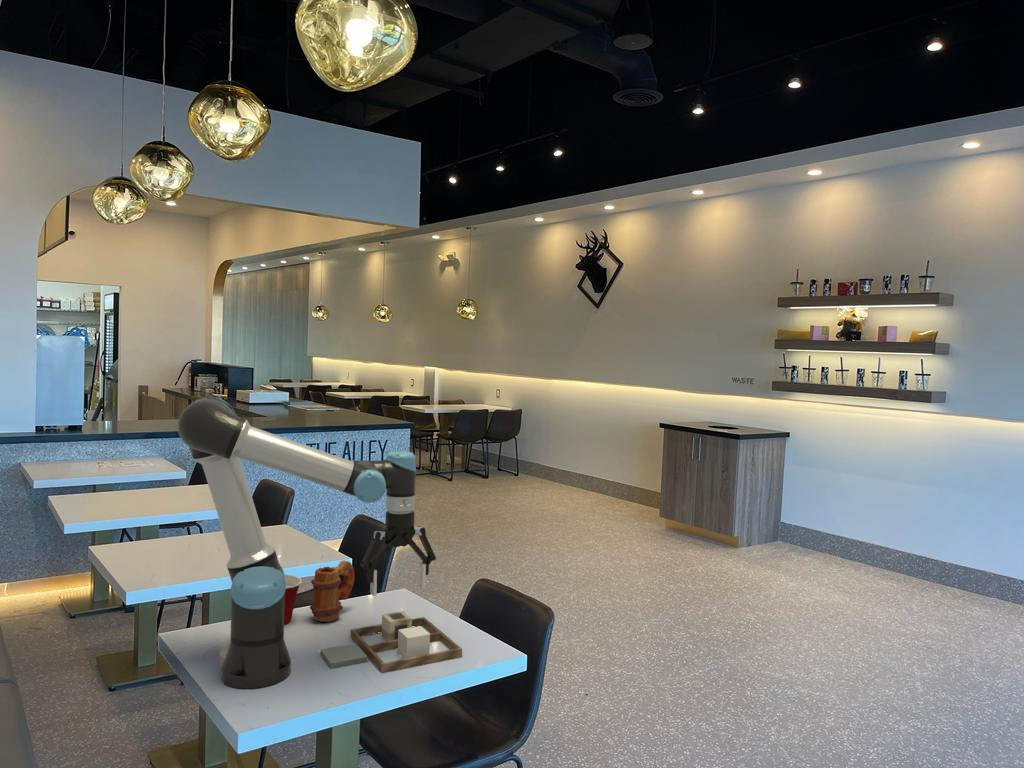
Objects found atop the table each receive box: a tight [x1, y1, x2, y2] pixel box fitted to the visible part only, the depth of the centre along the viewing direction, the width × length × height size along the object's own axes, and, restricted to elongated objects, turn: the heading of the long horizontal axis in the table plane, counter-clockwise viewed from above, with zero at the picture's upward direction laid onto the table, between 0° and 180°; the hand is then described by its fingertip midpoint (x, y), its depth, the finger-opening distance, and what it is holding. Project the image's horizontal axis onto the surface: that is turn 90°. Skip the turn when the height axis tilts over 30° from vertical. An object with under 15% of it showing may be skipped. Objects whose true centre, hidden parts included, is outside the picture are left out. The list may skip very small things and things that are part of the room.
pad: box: [319, 642, 368, 669], centre depth 175 cm, size 9×9×1 cm
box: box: [349, 616, 463, 674], centre depth 183 cm, size 21×24×2 cm
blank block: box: [397, 626, 431, 659], centre depth 178 cm, size 6×6×6 cm
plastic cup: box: [284, 573, 303, 626], centre depth 197 cm, size 11×11×12 cm
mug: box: [309, 560, 356, 623], centre depth 202 cm, size 15×8×15 cm, turn 147°
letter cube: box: [381, 611, 413, 642], centre depth 188 cm, size 6×6×6 cm
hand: (398, 590), depth 188 cm, fingers open, 13 cm apart
